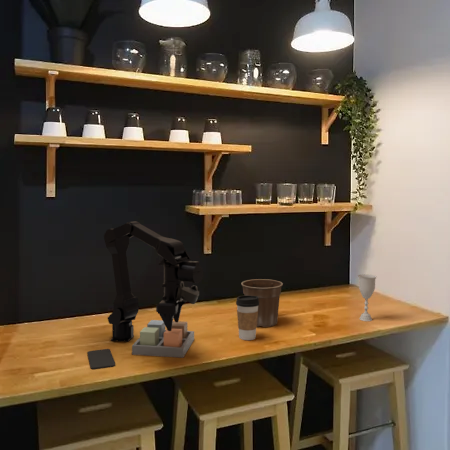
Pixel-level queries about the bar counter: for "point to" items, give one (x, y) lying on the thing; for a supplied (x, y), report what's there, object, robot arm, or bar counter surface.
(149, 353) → the grid tray
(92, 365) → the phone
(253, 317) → the coffee cup
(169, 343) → the terracotta block
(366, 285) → the chalice
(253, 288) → the plant pot
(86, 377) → the bar counter surface
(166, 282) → the robot arm
